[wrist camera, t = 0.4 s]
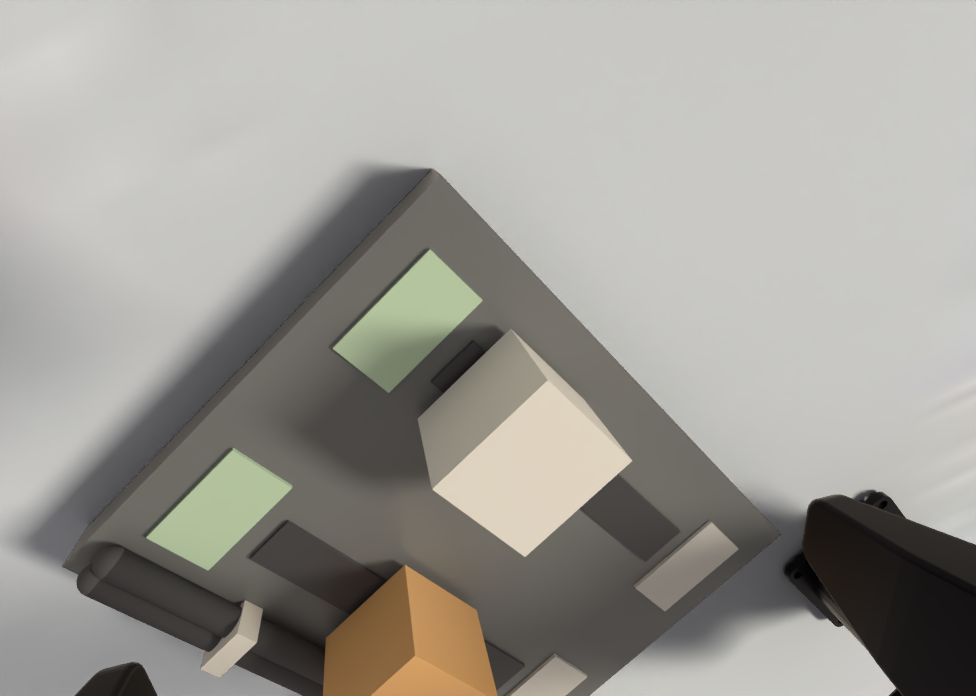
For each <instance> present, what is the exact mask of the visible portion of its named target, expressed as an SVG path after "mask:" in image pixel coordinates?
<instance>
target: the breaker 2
mask: <svg viewBox="0 0 976 696" xmlns="http://www.w3.org/2000/svg"><path fill="white" fill-rule="evenodd" d="M418 423H419V428H420V433H421V438H422V443H423V448H424V453H425V457H426V462H427V467H428V472H429V477H430V482H431V487H432V490H434V491H435V492H436V493H438V494H439V495H440V496H442V497H443V498H445V499H446V500H447V501H449V502H450V503H451V504H453V505H454V506H456V507H457V508H458V509H460V510H461V511H462V512H464V513H465V514H467V515H468V516H469V517H471V518H472V519H473V520H475V521H476V522H478V523H479V524H480V525H482V526H483V527H484V528H486V529H487V530H489V531H490V532H491V533H493V534H494V535H495V536H497V537H498V538H500V539H501V540H502V541H504V542H505V543H506V544H508V545H509V546H511V547H512V548H513V549H515V550H516V551H517V552H519V553H520V554H522V555H523V556H524V557H526V556H527V555H528V554H529V553H530V552H531V551H532V550H534V549H535V548H536V547H537V546H538V545H539V544H540V543H541V542H543V541H544V540H545V539H546V538H547V537H548V536H549V535H550V534H551V533H553V532H554V531H555V530H556V529H557V528H558V527H559V526H560V525H561V524H563V523H564V522H565V521H566V520H567V519H568V518H569V517H570V516H572V515H573V514H574V513H575V512H576V511H577V510H578V509H579V508H580V507H582V506H583V505H584V504H585V503H586V502H587V501H588V500H589V499H590V498H592V497H593V496H594V495H595V494H596V493H597V492H598V491H599V490H601V489H602V488H603V487H604V486H605V485H606V484H607V483H608V482H609V481H611V480H612V479H613V478H614V477H615V476H616V475H617V474H618V473H619V472H621V471H622V470H623V469H624V468H625V467H626V466H627V465H628V464H630V463H631V462H632V460H631V458H630V457H629V456H628V455H627V453H626V452H625V451H624V449H623V448H622V447H621V446H620V444H619V443H618V442H617V441H616V439H615V438H614V437H613V436H612V434H611V433H610V432H609V431H608V429H607V428H606V427H605V425H604V424H603V423H602V422H601V420H600V419H599V418H598V417H597V415H596V414H595V413H594V412H593V410H592V409H591V408H590V407H589V405H588V404H587V403H586V401H585V400H584V399H583V398H582V397H581V396H580V395H579V394H578V393H577V392H576V391H575V390H574V389H573V388H572V387H571V386H570V385H569V384H568V383H566V382H565V381H564V380H563V379H562V378H561V377H560V376H559V375H558V374H557V373H556V372H555V371H554V370H553V369H552V368H551V367H550V366H549V365H548V364H547V363H546V362H545V361H544V360H543V359H542V358H541V357H540V356H539V355H538V354H537V353H536V352H535V351H533V350H532V349H531V348H530V347H529V346H528V345H527V344H526V343H525V342H524V341H523V340H522V339H521V338H520V337H519V336H518V335H517V334H516V333H515V332H514V331H513V330H512V329H510V330H509V331H508V332H507V333H506V334H505V335H504V336H503V337H502V338H500V339H499V340H498V341H497V342H496V343H495V344H494V345H493V346H492V347H491V348H490V349H489V350H488V351H487V352H486V353H485V354H484V355H483V356H482V357H481V358H480V359H479V360H478V361H477V362H476V363H475V364H474V365H473V366H472V367H471V368H469V369H468V370H467V371H466V372H465V373H464V374H463V375H462V376H461V377H460V378H459V379H458V380H457V381H456V382H455V383H454V384H453V385H452V386H451V387H450V388H449V389H448V390H447V391H446V392H445V393H444V394H443V395H442V396H441V397H440V398H438V399H437V400H436V401H435V402H434V403H433V404H432V405H431V406H430V407H429V408H428V409H427V410H426V411H425V412H424V413H423V414H422V415H421V416H420V417H419V418H418Z"/></svg>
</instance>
